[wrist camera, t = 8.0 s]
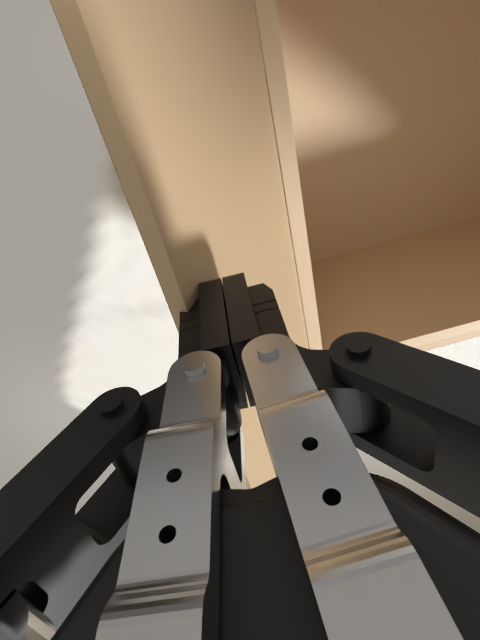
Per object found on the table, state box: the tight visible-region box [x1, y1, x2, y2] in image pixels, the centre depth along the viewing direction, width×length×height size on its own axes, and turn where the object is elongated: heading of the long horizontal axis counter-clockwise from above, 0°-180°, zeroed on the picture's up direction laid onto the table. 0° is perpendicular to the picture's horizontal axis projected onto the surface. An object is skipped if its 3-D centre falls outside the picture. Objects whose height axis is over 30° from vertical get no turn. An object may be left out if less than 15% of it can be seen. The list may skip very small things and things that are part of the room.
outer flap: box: [50, 0, 309, 489], centre depth 16 cm, size 10×23×1 cm
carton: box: [253, 0, 480, 351], centre depth 26 cm, size 22×25×14 cm
